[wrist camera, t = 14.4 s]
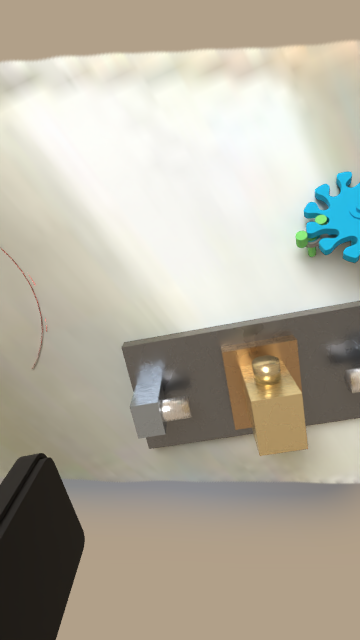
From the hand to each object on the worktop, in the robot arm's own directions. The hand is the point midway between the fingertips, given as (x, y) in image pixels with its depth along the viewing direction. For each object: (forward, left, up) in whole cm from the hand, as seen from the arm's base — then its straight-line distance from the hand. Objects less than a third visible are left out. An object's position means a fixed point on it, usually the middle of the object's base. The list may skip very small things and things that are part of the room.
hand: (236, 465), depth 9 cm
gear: (-15, -3, -30) cm, 33 cm away
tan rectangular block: (-5, +14, -27) cm, 30 cm away
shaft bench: (-5, +14, -30) cm, 33 cm away
